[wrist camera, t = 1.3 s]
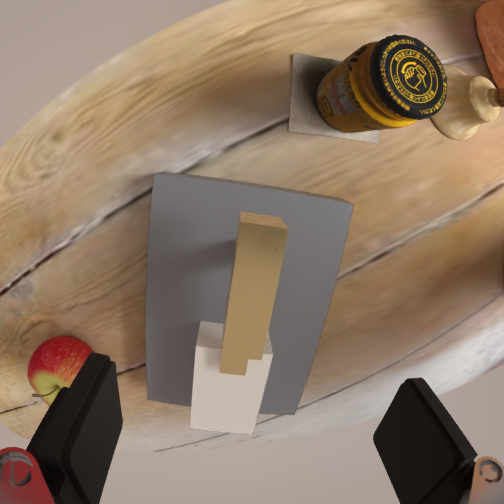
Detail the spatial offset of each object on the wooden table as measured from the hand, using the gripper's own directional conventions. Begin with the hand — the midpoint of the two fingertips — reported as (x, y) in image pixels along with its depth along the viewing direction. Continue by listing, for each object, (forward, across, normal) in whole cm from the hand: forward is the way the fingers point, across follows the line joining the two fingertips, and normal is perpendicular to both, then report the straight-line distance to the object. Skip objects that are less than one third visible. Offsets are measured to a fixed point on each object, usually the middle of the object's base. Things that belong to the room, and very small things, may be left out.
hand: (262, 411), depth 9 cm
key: (+17, 0, +2) cm, 17 cm away
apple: (+21, +17, +16) cm, 31 cm away
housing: (+20, 0, +6) cm, 21 cm away
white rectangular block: (+17, 0, +12) cm, 21 cm away
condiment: (+20, -6, -14) cm, 26 cm away
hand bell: (+20, -19, -18) cm, 33 cm away
